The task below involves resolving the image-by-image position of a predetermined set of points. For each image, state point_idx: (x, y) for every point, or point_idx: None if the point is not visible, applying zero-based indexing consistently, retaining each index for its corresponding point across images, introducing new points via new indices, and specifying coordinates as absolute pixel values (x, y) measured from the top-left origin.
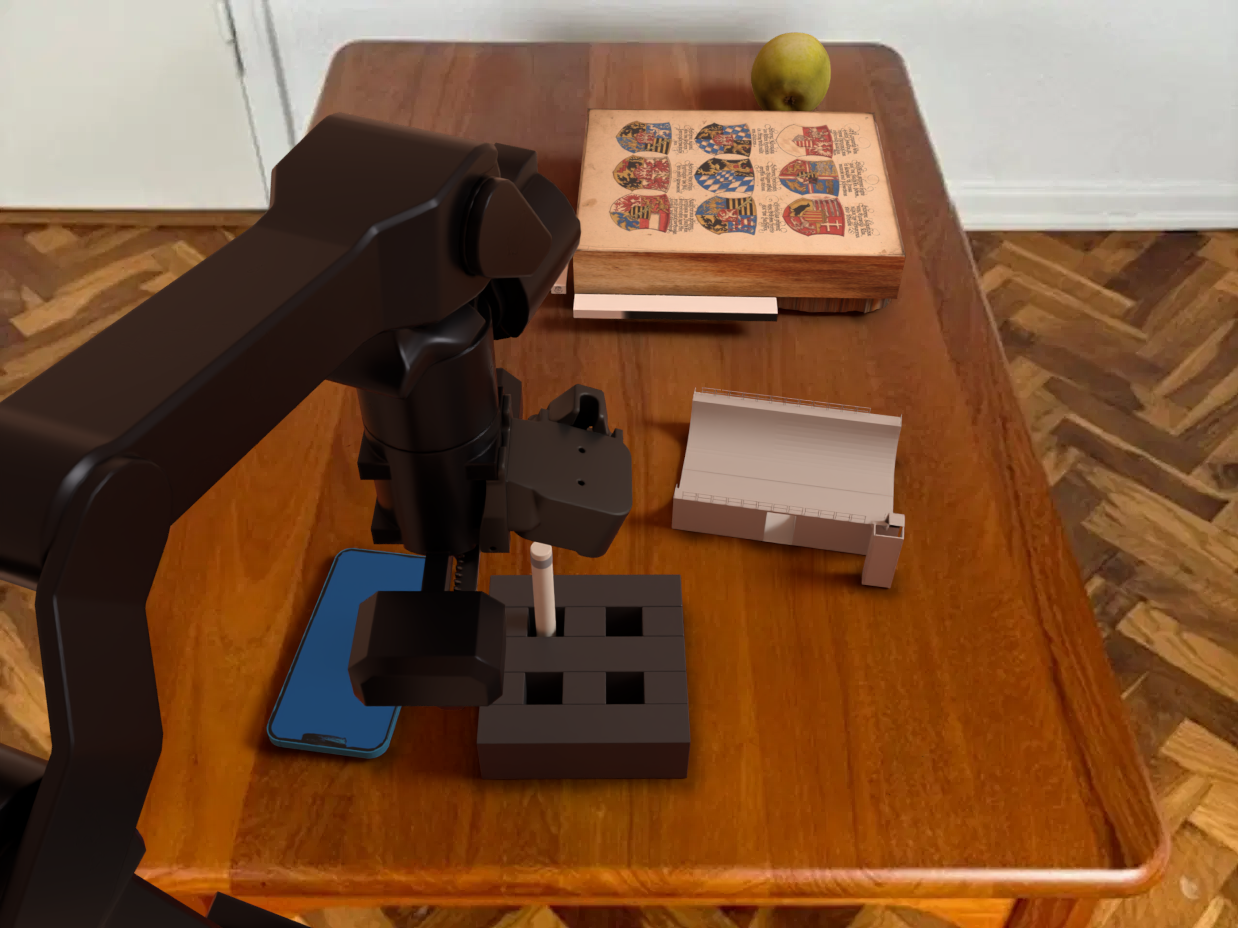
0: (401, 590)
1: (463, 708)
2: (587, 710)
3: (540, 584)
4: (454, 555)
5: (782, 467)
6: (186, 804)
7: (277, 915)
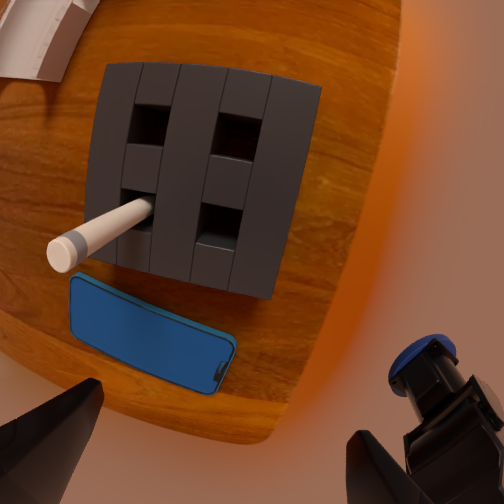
0: (96, 307)
1: (369, 431)
2: (257, 184)
3: (105, 239)
4: (98, 412)
5: (44, 10)
6: (244, 416)
7: (465, 491)
